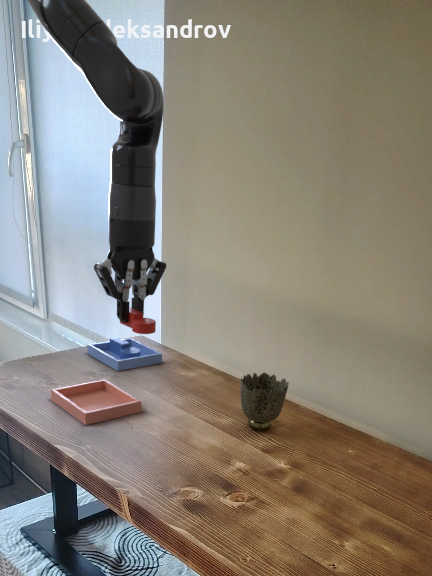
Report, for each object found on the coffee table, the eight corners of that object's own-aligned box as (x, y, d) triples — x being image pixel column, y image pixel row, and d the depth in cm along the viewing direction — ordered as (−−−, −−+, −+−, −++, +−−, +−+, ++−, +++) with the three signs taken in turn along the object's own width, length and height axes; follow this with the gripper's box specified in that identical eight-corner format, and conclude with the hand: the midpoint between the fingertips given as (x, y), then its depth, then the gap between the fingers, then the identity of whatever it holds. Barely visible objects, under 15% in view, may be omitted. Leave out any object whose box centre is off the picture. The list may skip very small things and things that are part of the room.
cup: (226, 425, 100) (230, 377, 96) (256, 414, 105) (262, 368, 101) (260, 442, 96) (266, 393, 92) (291, 430, 100) (298, 383, 96)
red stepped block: (115, 323, 110) (114, 308, 108) (134, 321, 112) (134, 306, 111) (140, 335, 105) (140, 319, 103) (160, 332, 107) (160, 317, 106)
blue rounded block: (105, 351, 125) (105, 338, 124) (122, 348, 128) (122, 336, 126) (127, 363, 120) (127, 350, 119) (144, 360, 123) (144, 347, 121)
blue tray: (87, 353, 125) (87, 344, 124) (130, 346, 131) (130, 337, 130) (117, 371, 117) (117, 361, 116) (161, 362, 123) (162, 353, 122)
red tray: (51, 400, 103) (50, 389, 102) (105, 389, 109) (105, 379, 108) (85, 425, 96) (85, 413, 95) (141, 411, 102) (141, 401, 101)
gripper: (154, 211, 107) (150, 311, 116) (82, 211, 99) (84, 319, 108) (180, 218, 103) (174, 322, 111) (107, 218, 94) (107, 331, 103)
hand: (130, 320), depth 109 cm, fingers closed on red stepped block, 2 cm apart
